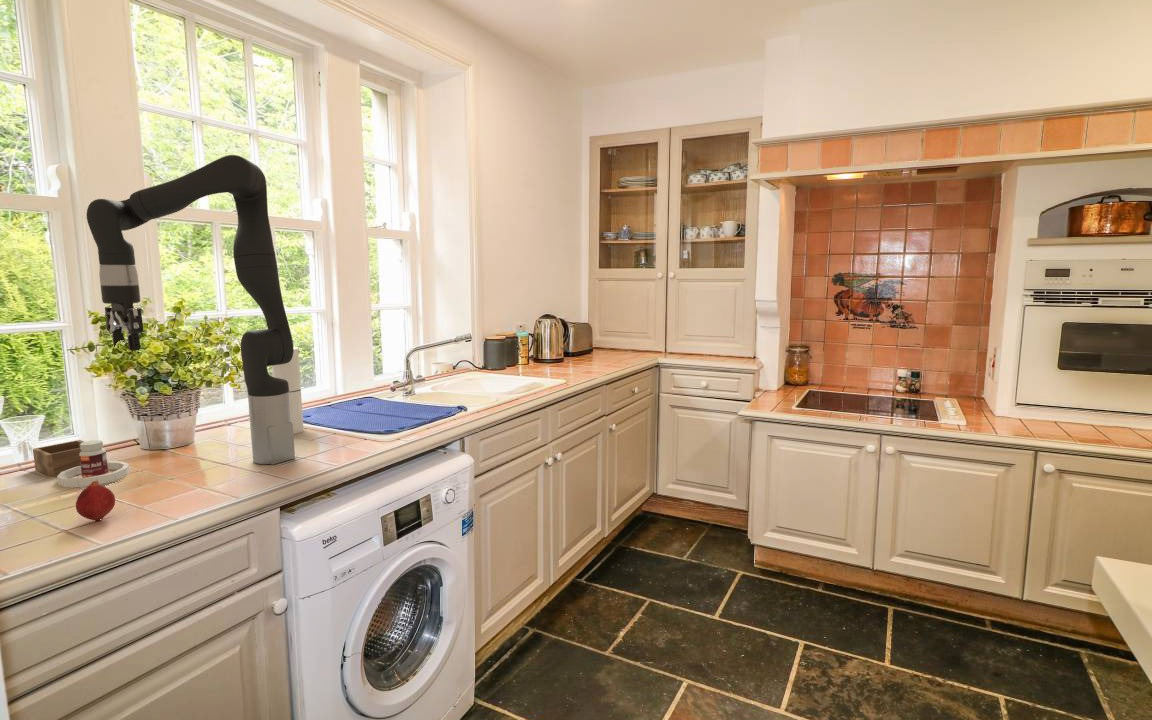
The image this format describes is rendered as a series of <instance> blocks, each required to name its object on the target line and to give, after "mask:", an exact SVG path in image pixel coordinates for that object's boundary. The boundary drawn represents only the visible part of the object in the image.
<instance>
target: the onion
mask: <svg viewBox="0 0 1152 720" xmlns="http://www.w3.org/2000/svg"><path fill="white" fill-rule="evenodd" d="M98 483H99V482H98V481H97V480H96V481H93V482H92V483H91V484H90V485H89V486H86V487H85V488H84V490H83V489H82V490H81V492H80V493H79V494H78V497H77V499H76V500H75V501H76V502H75V510H76V512H77V513H78V514H79V515H80V516H81V517H82V518H85V519H87V520H92V521H94V520H100V519H102V520H103V519H104V518H105V517H106V516H107V515H108V514H110V513H111V511H112V510H113V509H114V508H115V505H116V497H115V494H114V492H113V491H112V490H111V489H109V488H108V487H107V486H101V485H102V484H98ZM100 521H101V520H100Z"/></svg>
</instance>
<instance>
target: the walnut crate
mask: <svg viewBox="0 0 1152 720" xmlns="http://www.w3.org/2000/svg"><path fill="white" fill-rule="evenodd" d="M83 442H85V441H84V440H82V439H77V440H72V441H66V442H61V443H56V444H51V445H46V446H40V447H36V448H32V454H33V455H32V456H33V463H34V469H35V471H36V472H38V473H39V474H42V475H44V476H45V477H48V478H54V477H57V476H58V475H59V474H60V473H61V472H63V471H65V470H68V469H71V468H73V467H77V466H81V465H80V457H79V454H80V452H81V451H82V450H81V449H80V444H81V443H83Z"/></svg>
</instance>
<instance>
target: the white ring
mask: <svg viewBox="0 0 1152 720" xmlns="http://www.w3.org/2000/svg"><path fill="white" fill-rule="evenodd" d="M107 464H108V471H109V470H111V471H112V470H113V471H112V472H109V473H107V474H103V475H99V476H93V477H85V478H82V477H77V476H80V475H82V472H81V466H77V467H73V468H71V469H68V470H65V471H63V472H61V473H60V474H59V475H58V476H56V480H57V485H59V486H61V487H63V488H83V487H85V488H86V487H88V486H89V485H90V484H91V483H92V482H93V481H96V480H97V481H98V482H99V483H98V484H99V485H101V486H104V487H106V486H105V485H108V486H110V485H109V484H112V483H115V482H118V481H120V480H121V479H122V478H125V477H128V475H129V473H130V472H131V470H130V463H127V462H125V461H117V460H116V461H115V460H114V461H113V460H111V461H108V460H107ZM118 483H119V482H118ZM115 484H116V483H115ZM112 485H113V484H112Z"/></svg>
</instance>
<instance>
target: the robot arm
mask: <svg viewBox="0 0 1152 720" xmlns="http://www.w3.org/2000/svg"><path fill="white" fill-rule="evenodd" d="M223 193H224V194H225V193H228V194H230V195H232V196H233V199H234V204H235V208H236V213H237V214H236V215H237V228H236V232H235V236H234V241H233V246H232V247H233V248H232V249H233V250H232V251H233V252H232V255H233V260H234V268H235V273H236V276H237V280H238V281H239V283H240V285H241V286H242V287H243V289H244V290H245V291H246V292H247V293H248V294H249V296H250V297H251V298H252V299H253V300H254V302H256V303H257V305H258V307H259V308H260V310H261V311H262V314H263V316H264V320H265V323H266V327H267V328H266V329H265V328H264V329H253V330H247V331H246V332H244V333H243V334H242V336H241V340H240V355H241V361H242V362H241V363H242V369H243V376H244V377H243V378H244V383H245V385H246V390H247V400H248V413H249V414H248V415H249V424H250V425H249V426H250V427H249V429H250V439H251V452H252V453H251V454H252V462H253V463H255V464H259V465H268V464H269V465H276V464H280V463H283V462H286V461H289V460H293V459H296V451H295V440H294V439H295V438H294V437H295V436H294V435H295V434H293V423H292V422H291V415H290V400H289V385H288V382H287V381H286V380H284V379H280V378H275V377H273V375H270V374H269V372H268V367H272V366H273V365H280V364H286V363H288V362H290V361H291V359H292V357H293V352H294V347H295V346H294V340H293V337H292V336H293V335H292V332H291V328H290V325H289V322H288V316H287V314H286V310H285V309H286V308H285V306H284V305H285V304H284V301H283V300H284V299H283V296H282V290H281V283H280V277H279V269H278V263H277V256H276V255H277V254H276V251H275V246H274V242H273V234H272V229H271V223H270V219H269V211H268V209H269V207H268V190H267V179H266V176H265V173H264V172H263V170H262V169H261V168H260V167H259V166H258V165H257V164H255V163H253V162H252V161H250V160H248V159H246V158H245V157H242V156H240V155H237V154H228V155H225V156H221V157H220V158H218V159H217V158H216V159H215V160H213V161H210V162H209V163H207V164H206V165H204V166H202V167H200V168H198V169H195V170H193V171H191V172H189V173H187V174H185V175H182V176H180V177H177V178H174V179H172V180H169V181H166V182H162V183H159V184H156V185H153V186H150V187H146V188H142V189H139V190H137V191H135V192H133V193H132V194H130V196H129V198H127V199H124V200H119V201H118V200H112V199H108V198H107V199H105V198H97V199H95V200H92V201H91V202H90V203H89V205H88V206H87V208H86V220H87V225H88V227H89V230H90V233H91V235H92V238H93V240H94V242H95V244H96V247H97V254H98V255H97V256H98V261H99V262H98V263H99V273H98V274H99V284H100V293H101V302H102V303H103V304H108V305H109V304H110V306H105V307H104V313H105V325H106V330H107V331H109V332H110V334H111V336H112V337H111V338H112V345H113V344H114V347H115V345H116V343H117V342H118V341H120V340H124V341H125V335H124V330H125V333H126V335H127V336H126V338H127V345H128V351H130V352H131V351H132V352H133V351H134V352H135V351H141V343H140V341H141V340H140V335H141V334H143V333H144V324H143V317H142V308H140V307H136V308H135V307H134V304H139V303H140V302H141V293H140V285H139V283H140V281H139V274H138V270H137V267H136V257H135V249H134V245H133V244H132V243H131V242H130V241H127V240H126V239H125V238H124V234H123V232H124V231H129V230H132V229H136V228H138V227H140V226H142V225H144V224H147V223H148V222H149V221H151V220H156V219H158V218H159V219H160V218H162V217H165V216H169V215H172V214H175V213H178V212H180V211H182V210H184V209H185V208H187V207H189V206H191V204H193V203H194V202H195V201H197V200H200V199H202V198H205V197H207V196H208V197H209V196H211V195H216V194H223ZM122 231H123V232H122ZM106 316H107V317H106ZM106 319H107V320H106ZM114 347H113V348H114Z"/></svg>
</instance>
